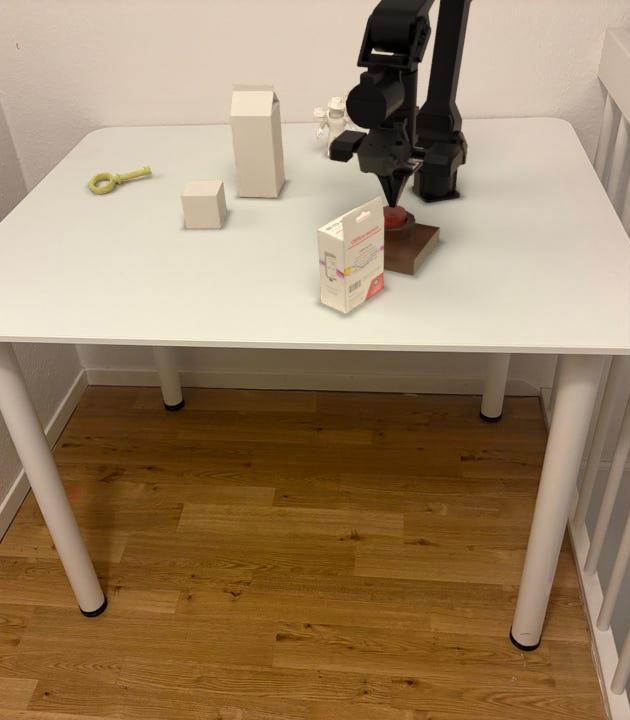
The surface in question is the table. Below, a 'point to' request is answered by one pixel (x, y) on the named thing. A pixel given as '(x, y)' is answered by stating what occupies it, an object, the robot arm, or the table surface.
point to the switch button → (394, 215)
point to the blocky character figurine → (334, 118)
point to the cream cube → (204, 204)
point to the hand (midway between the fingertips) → (393, 206)
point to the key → (115, 179)
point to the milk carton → (257, 140)
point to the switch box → (408, 245)
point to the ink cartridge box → (352, 256)
